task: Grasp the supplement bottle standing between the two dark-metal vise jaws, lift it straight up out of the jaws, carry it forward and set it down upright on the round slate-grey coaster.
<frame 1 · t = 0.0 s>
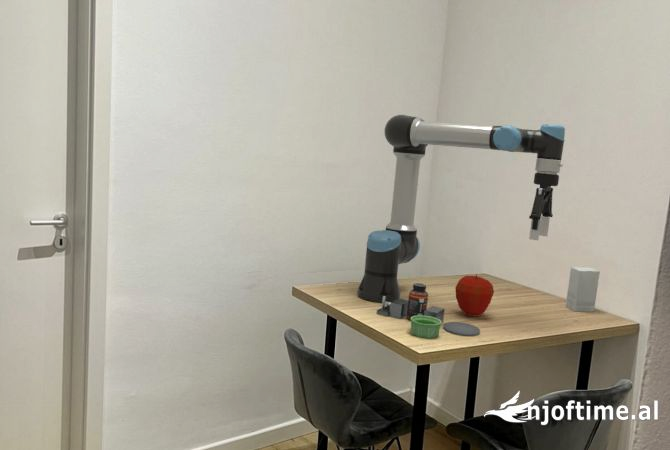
hand: (538, 237, 194), 28 cm above the table, fingers open, 13 cm apart
ramekin: (424, 334, 174), on the table
coaster: (461, 330, 180), on the table
apple: (471, 315, 198), on the table
supplement bottle: (415, 319, 188), on the table
skincare box: (579, 310, 218), on the table
vise: (415, 319, 188), on the table
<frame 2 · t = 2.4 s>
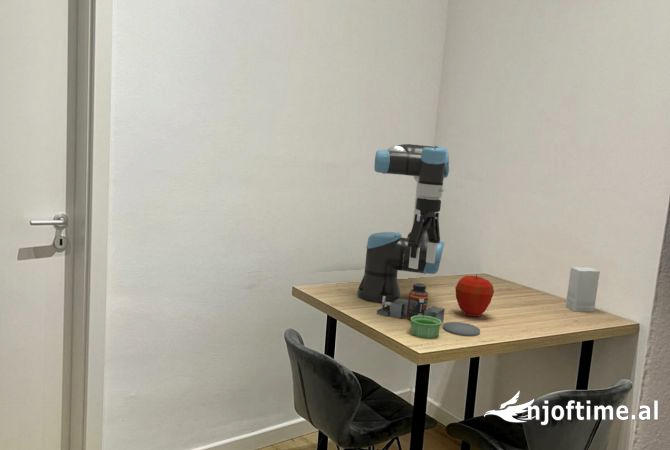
hand: (421, 265, 185), 17 cm above the table, fingers open, 13 cm apart
nothing on the table moved.
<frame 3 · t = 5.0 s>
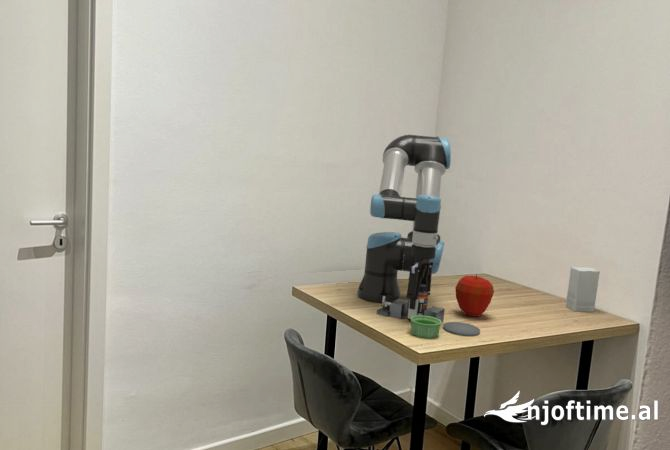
hand: (416, 316, 187), 1 cm above the table, fingers closed on supplement bottle, 6 cm apart
supplement bottle: (415, 319, 188), on the table, touching gripper
everything else where it was.
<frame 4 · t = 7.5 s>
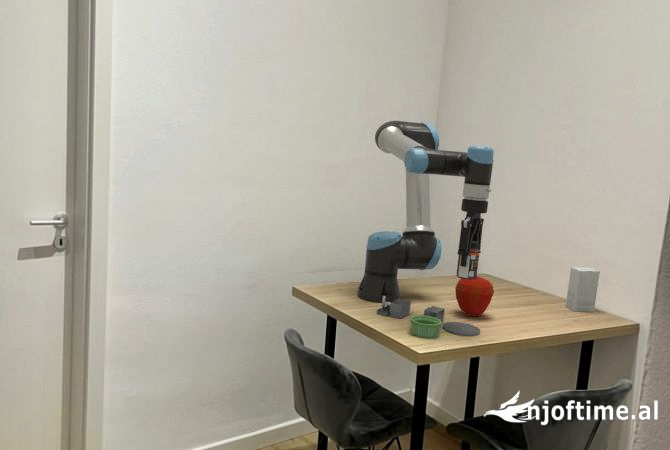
hand: (466, 275, 178), 17 cm above the table, fingers closed on supplement bottle, 6 cm apart
supplement bottle: (466, 278, 178), point 16 cm above the table, touching gripper
everything else where it was.
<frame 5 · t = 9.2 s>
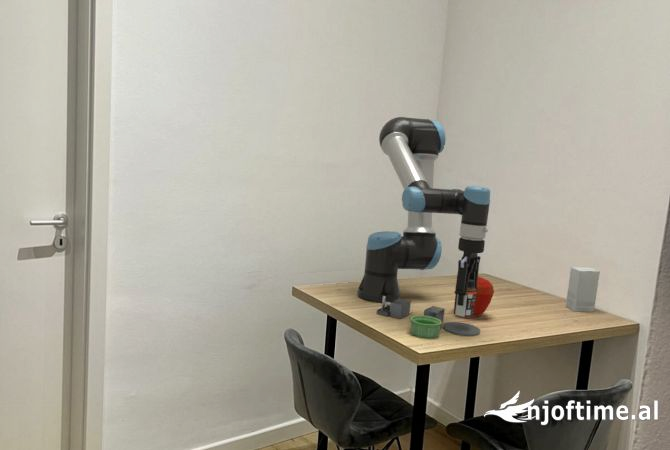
hand: (463, 313, 179), 5 cm above the table, fingers closed on supplement bottle, 6 cm apart
supplement bottle: (463, 316, 179), point 4 cm above the table, touching gripper
everything else where it was.
when the fingers open (3 cm above the table, at t = 10.3 s): supplement bottle drops 2 cm, resting on coaster.
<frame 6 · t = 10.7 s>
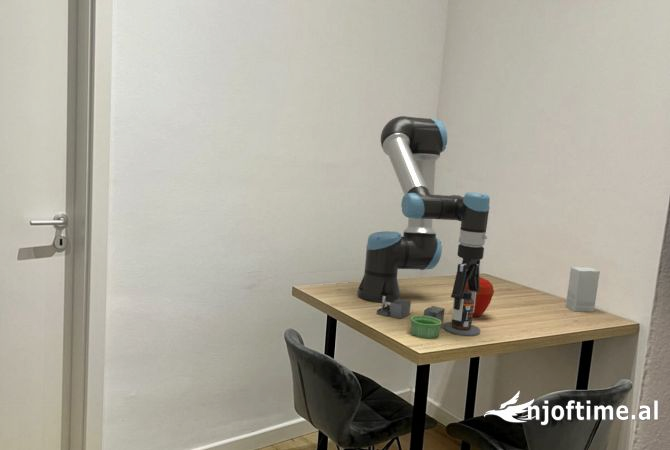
hand: (463, 315, 179), 5 cm above the table, fingers open, 11 cm apart
supplement bottle: (460, 328, 180), point 1 cm above the table, touching coaster
everything else where it was.
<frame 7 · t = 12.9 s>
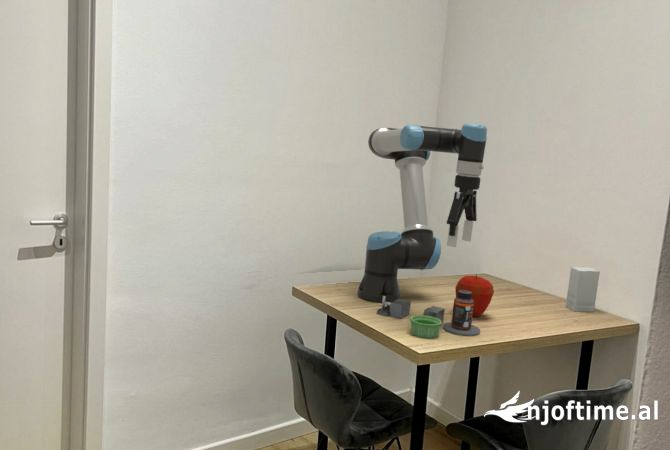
hand: (459, 243, 184), 25 cm above the table, fingers open, 13 cm apart
nothing on the table moved.
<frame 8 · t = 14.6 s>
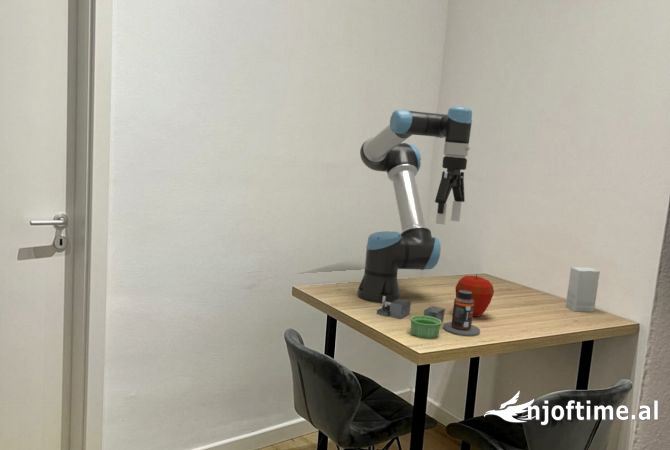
hand: (447, 222, 191), 31 cm above the table, fingers open, 13 cm apart
nothing on the table moved.
at the end: supplement bottle inside the target area on the coaster (0.2 cm from its centre), point 0.6 cm above the coaster's base; supplement bottle tilted 0°; the gripper is holding nothing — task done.
